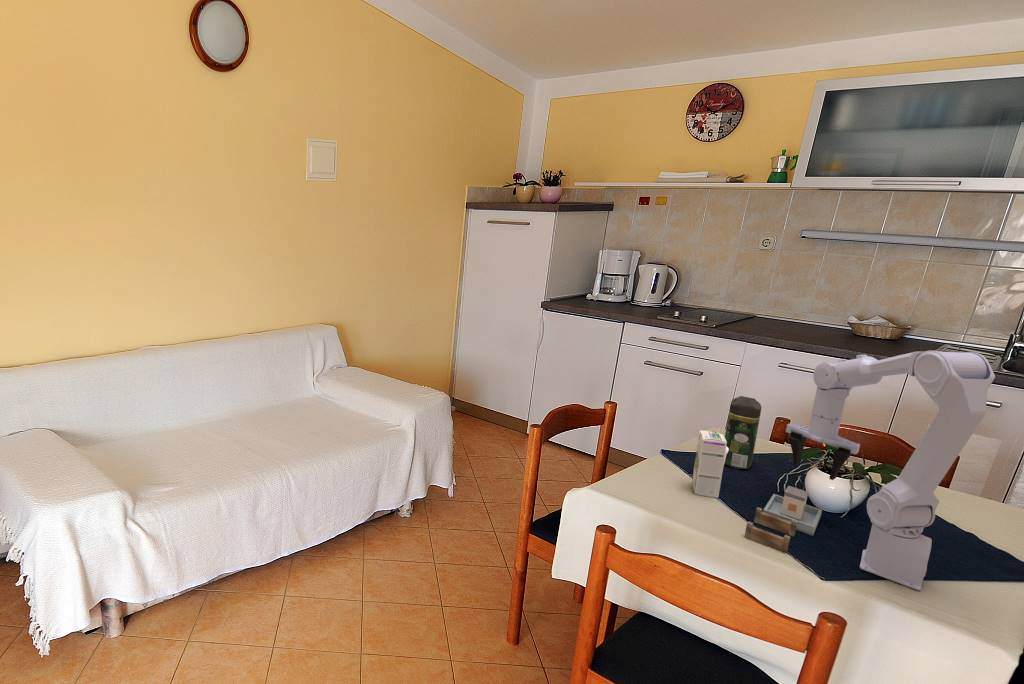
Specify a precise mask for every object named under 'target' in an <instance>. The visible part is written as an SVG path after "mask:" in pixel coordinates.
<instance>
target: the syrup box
mask: <svg viewBox="0 0 1024 684" xmlns="http://www.w3.org/2000/svg"><path fill="white" fill-rule="evenodd" d="M726 445H727V441H726V439H725V434H724V433H722V432H719V433H718V432H717V431H711V430H699V432H698V438H697V445H696V451H695V458H694V465H693V473H692V480H691V487H692V489H693V490H692V491H693V493H694V495H697V496H702V497H708V498H713V499H714V498H715V499H718V498H719V495H720V490H721V484H722V479H723V477H722V476H723V470H724V467H723V465H725V464H724V458H725V451H726Z"/></svg>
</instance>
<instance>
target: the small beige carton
mask: <svg viewBox="0 0 1024 684" xmlns="http://www.w3.org/2000/svg"><path fill="white" fill-rule="evenodd" d="M808 495H809V491H806V490H803V489H800V488H797V487H794V486H791V485H787V487H786V489H785V490H784V495H783V497H784V499H783V504H782V509H781V513H780V514H781V515H784V516H787V517H790V518H793V519H795V520H798V521H801V520H802V518H803V515H804V509H805V504H806V505H807V500H808Z"/></svg>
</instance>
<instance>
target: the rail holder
mask: <svg viewBox="0 0 1024 684" xmlns="http://www.w3.org/2000/svg"><path fill="white" fill-rule="evenodd" d="M754 523H756V524H758V525H761V526H763V527H767V528H769V529H773V530H774V531H776V532H777V531H778V532H780V533H783V534H784V536H780V535H778V534H775V533H772V532H770V531H768V530H764V529H762V528H759V527H756V526H754ZM797 523H798V521H796V520H792V522H790V521H787V520H784V519H781V518H778V517H775V516H773V515H770V514H767V513H764V512H763V508H761V507H758V506H757V507H756V509H755V515H754V519H753V522H751V521H747V523H746V527H745V531H744V536H743V537H744V538H745V539H748V540H751V541H754V542H756V543H759V544H762V545H765V546H767V547H770V548H772V549H775V550H777V551H780V552H782V553H785V554H787V553H788V549H789V544H790V542H791V541H790V540H791V537H795V536H796V531H797V530H796V527H797Z"/></svg>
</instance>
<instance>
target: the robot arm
mask: <svg viewBox="0 0 1024 684" xmlns="http://www.w3.org/2000/svg"><path fill="white" fill-rule="evenodd" d="M812 374H813V375H812V377H813V381H814V384H815V385H816V391H815V397H814V401H813V406H812V409H811V410H812V411H811V417H810V421H809V425H808V426H803V425H801V424H800V425H799V424H795V423H787V425H786V429H785V433H787V434H789V436H788V438H787V439H788V442H789V445H790V448H791V452H792V457H793V466H794V467H795V468H797V467H800V466H801V462H802V457H803V452H804V448H805V445H806V441H807V439H810V440H813V441H815V442H818V443H821V444H825V445H827V446H831V447H833V448H837V449H836V450H835V449H834V451H833V460H832V467H831V470H830V474H829V480H832V481H834V480H836V478H837V476H838V474H839V472H840V470H841V468H842V467H843V466H844V464H845V463H846V462H847V460H849V458H850V457H851V456H852V455H857V454H858V453H859V451H860V449H861V448H860V447H861V444H860V443H857V442H854V441H851V440H850V439H846V438H844V437H842V436H839V430H840V426H841V421H842V416H843V412H844V408H845V405H846V404H845V403H846V399H847V398H848V397H849V396H850V392H851V390H852V389H853V388H856V387H863V386H871V385H877V384H878V383H880V382H881V381H882V379H883V377H889V376H890V377H891V376H899V375H908V374H909V376H910V377H915V378H916V381H918V383H919V384H920V386H921V387H922V388H923V389H924V391H925V392H926V394H927V395H928V396H929V397H930V399H931V400H932V402H933V403H934V404H936V405H937V407H938V412H937V414H936V415H935V417H934V419H933V420H932V422H931V423H930V424H929V427H928V429H927V430H926V431H925V433H924V435H923V436H922V438H921V440H920V441H919V443H918V445H917V446H916V448H915V449H914V451H913V453H912V454H911V456H910V458H909V459H908V461H907V463H906V464H905V466H904V467H903V469H902V470H901V472H900V474H899V476H898V477H897V478H895V479H893V480H891V481H889V482H888V483H886V484H885V485H883V486H881V487H880V489H879V491H878V492H877V493H875V494H873V495H871V496H870V497H869V498H868V499H867V501H866V512H867V516H868V517H869V519H870V522H871V529H870V533H869V538H868V541H867V545H866V549H862V554H861V559H860V564H859V569H860V570H862V571H866V572H868V573H871V574H874V575H876V576H879V577H882V578H885V579H886V580H890V581H892V582H894V583H895V582H896V583H898V584H900V585H903V586H905V587H908V588H911V589H913V590H917V591H921V590H922V586H923V581H924V577H926V575H927V570H928V562H929V558H930V554H931V549H932V538H931V537H928V536H926V535H923V534H922V533H923V531H924V528H927V527H930V526H931V525H932V524H933V523H934V521H935V519H936V509H937V508H938V505H939V504H940V499H939V498H938V497H937V495H936V494H935V493H934V492H935V491H936V490H937V488H938V486H939V485H940V483H941V482H942V480H943V479H944V478H945V476H946V475H947V473H948V472H949V470H950V468H951V467H952V465H953V464H954V463H955V461H956V459H957V458H958V456H959V455H960V454H961V452H962V450H963V449H964V448H965V446H966V444H967V443H968V441H969V440H970V439H971V437H972V436H973V434H974V432H975V431H976V429H977V428H978V427H979V425H980V423H981V422H982V420H983V419H984V417H985V415H986V409H987V403H988V401H987V400H988V390H989V388H990V386H991V385H992V383H993V381H995V379H996V375H995V373H994V371H993V368H992V366H991V364H990V362H989V360H988V359H987V358H986V357H985V356H984V355H983V354H981V353H978V352H976V351H975V352H974V351H966V352H958V351H957V352H956V351H940V350H926V351H912V352H909V353H905V354H904V353H903V354H899V355H895V356H892V357H887V358H883V359H879V360H878V359H877V358H875V357H874V356H869V355H868V354H858V355H857V354H856V358H852V359H848V360H847V359H846V358H842V359H841V358H840V359H839V360H838V362H833V363H832V362H827V361H825V362H824V361H823V362H822V363H819V364H818V365H817V366H815V368H814V371H813V373H812Z"/></svg>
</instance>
